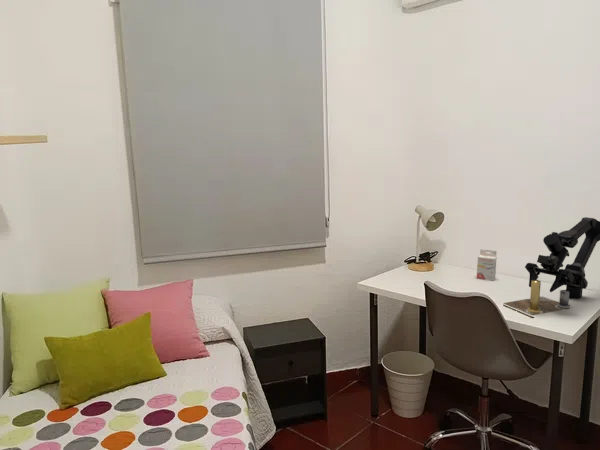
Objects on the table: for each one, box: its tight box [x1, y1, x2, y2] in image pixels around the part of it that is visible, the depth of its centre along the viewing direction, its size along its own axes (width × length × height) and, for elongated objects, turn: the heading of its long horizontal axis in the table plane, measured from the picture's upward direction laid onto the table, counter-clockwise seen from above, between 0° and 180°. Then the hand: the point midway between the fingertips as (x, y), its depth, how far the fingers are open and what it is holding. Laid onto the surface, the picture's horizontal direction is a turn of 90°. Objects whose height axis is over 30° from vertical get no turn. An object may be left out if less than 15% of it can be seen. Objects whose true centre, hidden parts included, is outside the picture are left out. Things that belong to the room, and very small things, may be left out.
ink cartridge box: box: [476, 249, 497, 281], centre depth 251 cm, size 9×5×15 cm, turn 58°
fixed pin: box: [556, 289, 571, 310], centre depth 204 cm, size 5×5×7 cm
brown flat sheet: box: [502, 296, 573, 319], centre depth 208 cm, size 22×17×1 cm
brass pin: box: [528, 279, 542, 315], centre depth 200 cm, size 5×5×13 cm
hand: (539, 289), depth 201 cm, fingers open, 9 cm apart
